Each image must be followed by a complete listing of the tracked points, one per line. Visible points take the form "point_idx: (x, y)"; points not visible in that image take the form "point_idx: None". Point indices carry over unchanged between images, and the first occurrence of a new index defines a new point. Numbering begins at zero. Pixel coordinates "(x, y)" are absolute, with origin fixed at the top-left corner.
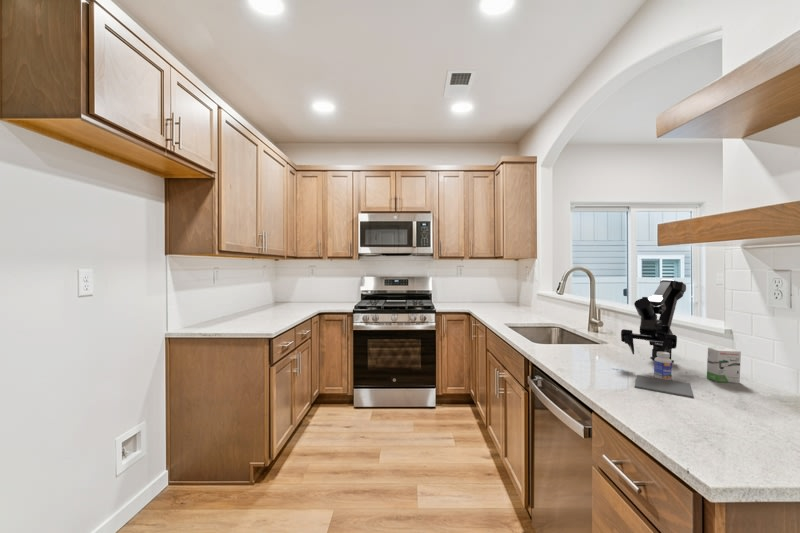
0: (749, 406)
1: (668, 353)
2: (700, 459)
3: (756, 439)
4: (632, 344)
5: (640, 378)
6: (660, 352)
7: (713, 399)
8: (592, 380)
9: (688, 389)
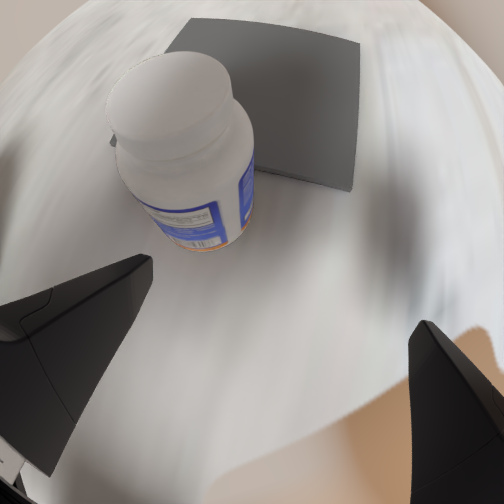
0: (78, 39)
1: (127, 76)
2: None
3: None
4: (482, 393)
5: (338, 126)
6: (195, 79)
7: (135, 36)
8: (472, 91)
9: None
